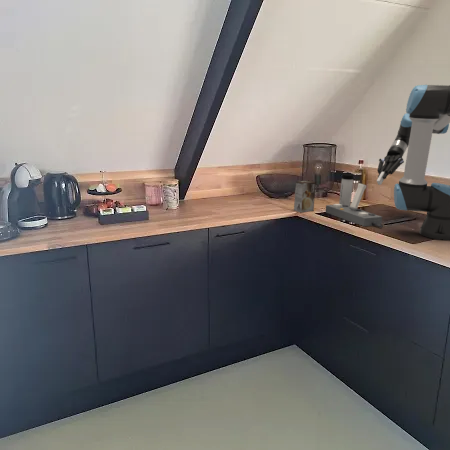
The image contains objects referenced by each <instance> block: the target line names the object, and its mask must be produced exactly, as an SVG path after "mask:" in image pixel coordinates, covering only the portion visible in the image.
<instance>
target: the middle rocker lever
mask: <svg viewBox="0 0 450 450" xmlns="http://www.w3.org/2000/svg"><path fill="white" fill-rule="evenodd" d="M367 186H368V185H366V184H364V183H360V182H359V183H357V188H356V190H355V193H354V196H353V198H352V199H351V204H350V207H349V209H351V210H354V211H356V210H357V209H358V207H359V204H360V202H361V200H362V197H363V195H364V192H365V190H366V189H367Z"/></svg>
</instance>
